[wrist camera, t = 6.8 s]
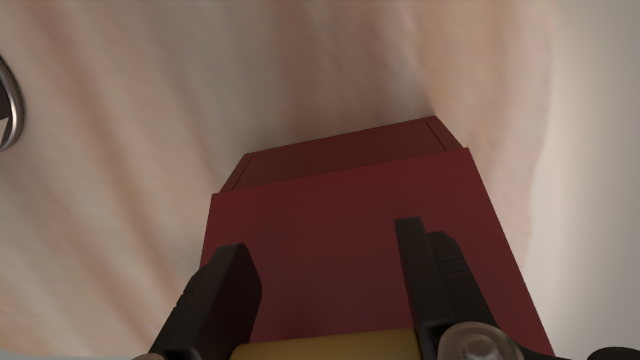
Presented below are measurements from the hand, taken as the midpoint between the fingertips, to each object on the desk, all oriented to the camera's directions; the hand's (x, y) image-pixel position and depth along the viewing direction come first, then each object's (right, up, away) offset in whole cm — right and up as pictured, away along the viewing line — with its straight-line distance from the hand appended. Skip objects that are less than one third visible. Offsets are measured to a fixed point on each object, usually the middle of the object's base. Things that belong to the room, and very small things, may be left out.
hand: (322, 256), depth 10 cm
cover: (+1, -2, +3) cm, 4 cm away
